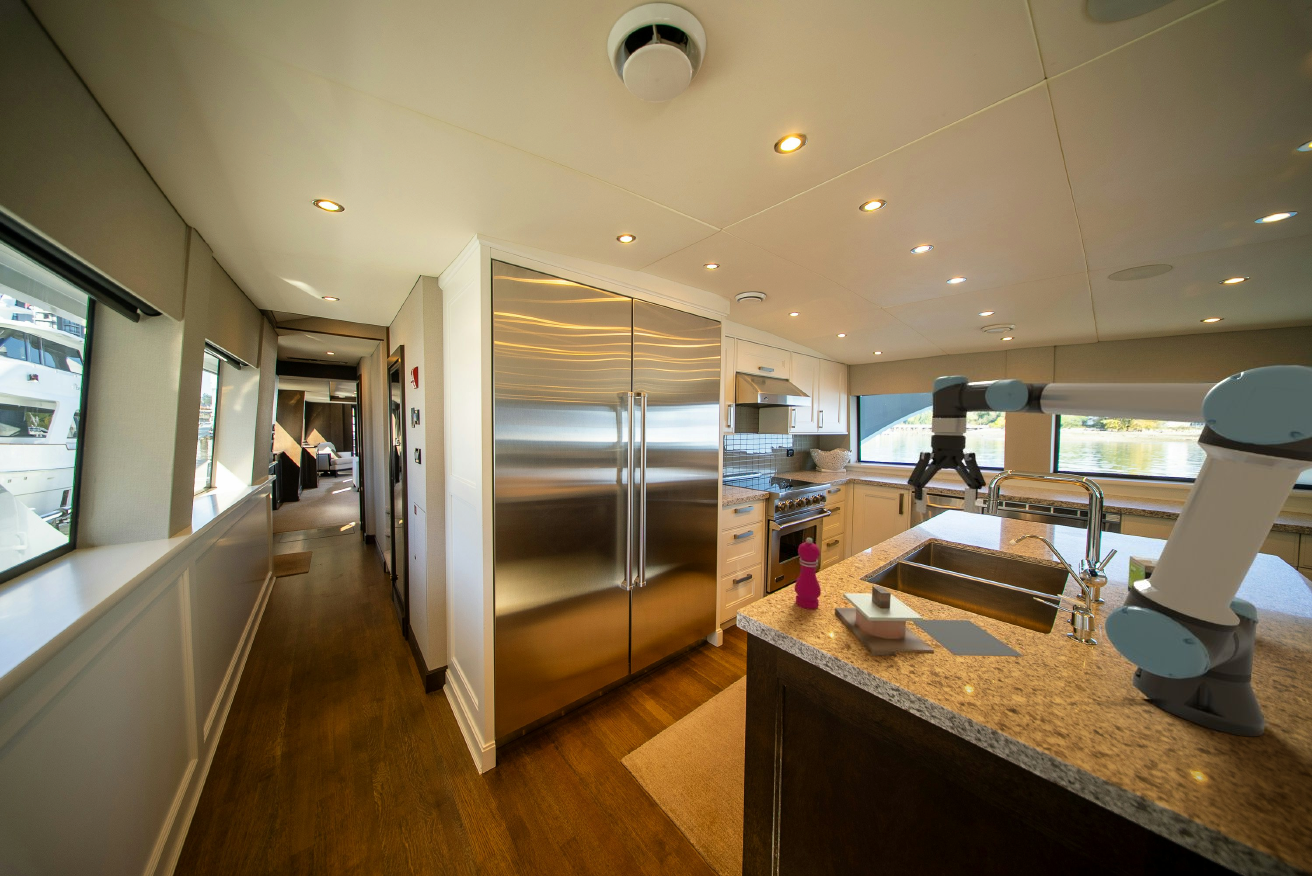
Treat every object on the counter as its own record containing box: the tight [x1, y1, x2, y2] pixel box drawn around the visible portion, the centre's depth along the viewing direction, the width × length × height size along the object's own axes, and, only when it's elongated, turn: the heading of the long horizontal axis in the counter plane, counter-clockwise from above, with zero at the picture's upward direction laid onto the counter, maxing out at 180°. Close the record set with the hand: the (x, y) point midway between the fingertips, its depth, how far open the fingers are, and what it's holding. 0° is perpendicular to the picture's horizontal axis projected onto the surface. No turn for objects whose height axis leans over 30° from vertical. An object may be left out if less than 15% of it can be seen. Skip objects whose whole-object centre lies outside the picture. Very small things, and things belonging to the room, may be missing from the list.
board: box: [834, 607, 935, 657], centre depth 102 cm, size 20×14×2 cm
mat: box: [911, 619, 1024, 657], centre depth 99 cm, size 16×16×1 cm
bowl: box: [856, 609, 907, 639], centre depth 102 cm, size 11×11×5 cm
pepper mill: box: [794, 537, 822, 610], centre depth 117 cm, size 7×7×20 cm
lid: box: [843, 585, 924, 622], centre depth 102 cm, size 13×13×5 cm
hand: (945, 512), depth 108 cm, fingers open, 13 cm apart
